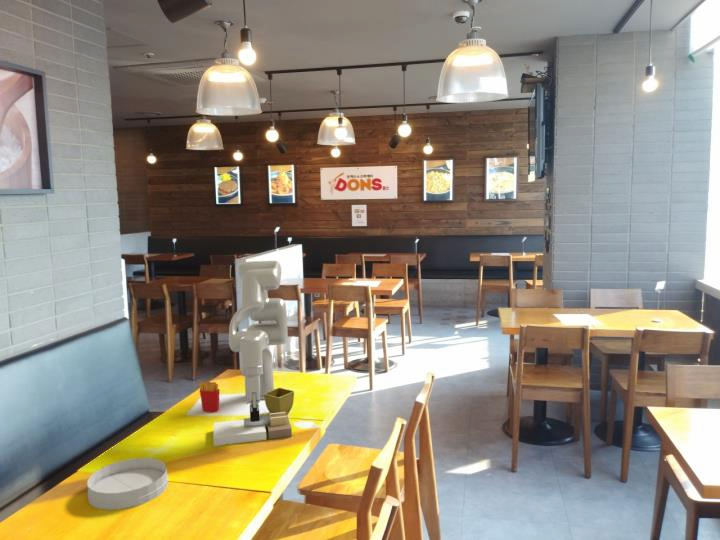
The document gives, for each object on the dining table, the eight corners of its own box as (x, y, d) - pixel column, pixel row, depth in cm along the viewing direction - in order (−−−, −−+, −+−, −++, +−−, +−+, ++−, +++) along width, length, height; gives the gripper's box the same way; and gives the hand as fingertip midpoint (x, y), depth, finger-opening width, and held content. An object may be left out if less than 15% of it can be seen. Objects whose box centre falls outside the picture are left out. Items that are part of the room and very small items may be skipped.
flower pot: (279, 420, 219) (278, 397, 218) (264, 415, 224) (263, 393, 223) (295, 413, 226) (294, 391, 225) (280, 408, 231) (279, 387, 230)
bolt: (243, 424, 208) (242, 405, 207) (277, 420, 210) (276, 401, 210) (244, 427, 205) (243, 408, 204) (277, 423, 207) (276, 404, 206)
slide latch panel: (214, 430, 211) (213, 415, 210) (287, 422, 217) (286, 407, 216) (213, 446, 197) (212, 430, 197) (291, 436, 203) (291, 420, 203)
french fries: (222, 409, 232) (220, 381, 231) (217, 413, 229) (215, 384, 227) (203, 408, 235) (201, 379, 233) (198, 411, 231) (196, 382, 230)
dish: (143, 466, 184) (142, 451, 184) (183, 486, 170) (182, 470, 170) (73, 494, 167) (72, 478, 167) (111, 519, 153) (109, 502, 153)
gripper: (241, 364, 212) (243, 412, 214) (242, 377, 196) (245, 429, 198) (261, 362, 213) (264, 410, 216) (264, 375, 197) (266, 426, 200)
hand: (254, 418), depth 207 cm, fingers closed on bolt, 3 cm apart
